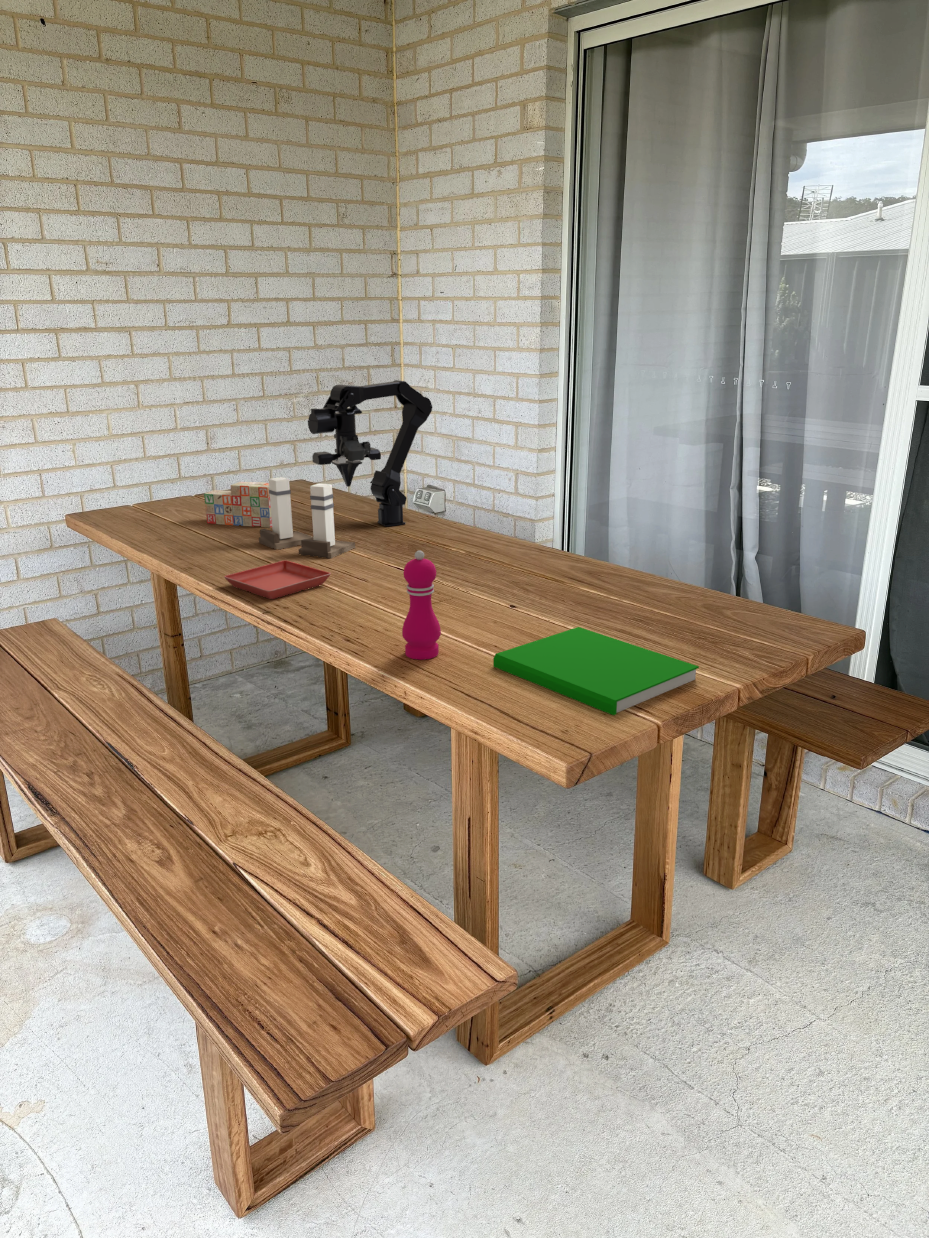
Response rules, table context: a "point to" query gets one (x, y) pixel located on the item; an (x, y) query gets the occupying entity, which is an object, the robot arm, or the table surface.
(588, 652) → the book
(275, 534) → the base
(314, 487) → the post
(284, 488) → the post
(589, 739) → the table surface
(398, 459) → the robot arm
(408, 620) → the pepper mill
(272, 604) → the table surface
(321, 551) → the base
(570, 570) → the table surface
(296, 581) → the plant saucer
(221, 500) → the stack of blocks
